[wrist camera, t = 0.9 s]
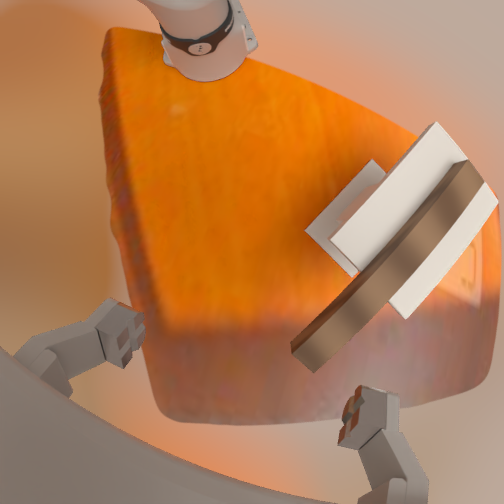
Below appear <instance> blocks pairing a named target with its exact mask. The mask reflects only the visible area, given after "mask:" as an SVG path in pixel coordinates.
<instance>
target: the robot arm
mask: <svg viewBox="0 0 504 504" xmlns="http://www.w3.org/2000/svg"><path fill="white" fill-rule="evenodd" d="M138 1H139V2H141V3H143V4H144V5H146V6H147V7H148V8H149V9H150V10H151V12H152V13H153V14H154V15H155V17H156V18H157V20H158V21H159V24H160V28H161V31H162V36H163V40H162V41H161V43H162V46H163V48H164V50H165V51H164V56H163V61H164V63H165V64H166V65H168V66H171V67H175V68H176V69H177V70H179V71H180V72H181V73H182V74H183V75H184V76H185V77H187V78H189V79H192V80H195V81H202V82H207V81H215V80H218V79H221V78H224V77H226V76H228V75H230V74H231V73H233V72H234V71H235V70H236V69H237V68H238V67H239V66H240V65H241V64H242V62H243V61H244V59H245V57H246V56H247V55H248V54H250V53H251V52H253V51H254V50H255V49H256V48H257V47H258V43H257V40H256V38H255V35H254V33H253V31H252V29H251V26H250V24H249V22H248V20H247V17H246V15H245V13H244V11H243V9H242V6H241V4H240V2H239V0H138ZM249 39H251V41H248V40H249ZM143 321H144V313H142V312H140V311H138V310H136V309H134V308H132V307H130V306H127V305H125V304H123V303H121V302H119V301H117V300H115V299H113V298H108V299H106V300H105V301H104V302H103V303H102V304H101V305H100V306H99V307H98V308H97V309H96V310H95V311H94V312H93V313H92V314H91V315H90V316H89V318H87V320H86V321H85V322H82V321H80V322H77V323H74V324H70V325H67V326H64V327H61V328H58V329H55V330H51V331H49V332H45V333H42V334H39V335H36V336H33V337H31V338H30V339H29V340H28V341H27V342H26V343H25V344H24V345H23V347H21V349H20V350H19V351H18V352H17V353H16V354H15V355H14V356H13V357H12V356H11V355H10V354H9V353H8V352H6V351H5V350H4V349H3V348H2V347H1V346H0V504H336V503H330V502H325V501H319V500H314V499H309V498H304V497H299V496H295V495H291V494H287V493H283V492H279V491H275V490H271V489H267V488H264V487H260V486H256V485H253V484H250V483H247V482H243V481H240V480H237V479H234V478H231V477H228V476H225V475H222V474H219V473H217V472H214V471H211V470H209V469H206V468H203V467H201V466H198V465H196V464H193V463H191V462H188V461H186V460H183V459H181V458H179V457H176V456H174V455H172V454H170V453H167V452H165V451H163V450H161V449H158V448H156V447H154V446H152V445H150V444H148V443H146V442H144V441H142V440H140V439H138V438H136V437H134V436H132V435H130V434H128V433H126V432H125V431H123V430H121V429H119V428H117V427H115V426H114V425H112V424H110V423H108V422H106V421H105V420H103V419H101V418H100V417H98V416H96V415H94V414H93V413H91V412H90V411H88V410H86V409H85V408H83V407H81V406H80V405H78V404H77V403H75V402H74V401H72V400H71V399H69V397H70V396H71V394H72V393H73V389H72V387H71V385H70V383H69V381H68V380H69V379H71V378H73V377H75V376H77V375H79V374H81V373H83V372H85V371H87V370H89V369H91V368H94V367H96V366H97V365H100V364H102V363H104V362H105V360H106V361H108V362H110V363H112V364H114V365H117V366H118V367H121V368H122V369H124V368H125V367H126V365H127V364H128V363H129V361H130V360H131V358H132V352H133V351H135V350H138V349H139V348H140V346H141V345H142V343H143V341H144V339H145V334H146V328H145V326H144V325H143V323H142V322H143ZM342 421H343V423H344V426H343V427H342V429H341V430H340V433H339V439H338V446H342V447H346V448H351V449H355V450H359V451H358V453H359V455H360V458H361V461H362V463H363V466H364V469H365V471H366V474H367V477H368V480H369V482H370V485H371V488H372V491H371V492H369V493H367V494H365V495H363V496H362V497H360V498H359V499H358V503H357V504H427V502H428V485H429V480H428V478H427V476H426V474H425V472H424V471H423V469H422V467H421V465H420V463H419V462H418V460H417V458H416V456H415V454H414V452H413V451H412V449H411V447H410V446H409V444H408V442H407V440H406V439H405V437H404V435H403V433H401V432H399V394H397V393H393V392H388V391H385V390H381V389H376V388H371V387H367V386H363V385H360V386H358V387H357V389H356V390H355V395H354V396H352V397H350V398H349V400H348V401H347V403H346V405H345V408H344V411H343V415H342Z"/></svg>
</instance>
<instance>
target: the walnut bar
mask: <svg viewBox="0 0 504 504" xmlns="http://www.w3.org/2000/svg"><path fill="white" fill-rule="evenodd" d="M484 182H485V181H484V180H483V178H482V177H481V176H480V174H479V173H478V171H477V170H476V169H475V167H474V166H473V165H472V163H471V162H470V161H469V160H468V159H467V160H464V161H460V162H457V163H454V164H453V165H452V167H451V168H450V169H449V170H448V172H447V173H446V174H445V176H444V177H443V178H442V179H441V181H440V182H439V183H438V184H437V186H436V187H435V188H434V189H433V191H432V192H431V193H430V194H429V196H428V197H427V198H426V199H425V200H424V202H423V203H422V204H421V205H420V206H419V208H418V209H417V210H416V211H415V212H414V214H413V215H412V216H411V217H410V218H409V219H408V221H407V222H406V223H405V224H404V225H403V226H402V228H401V229H400V230H399V231H398V232H397V233H396V234H395V236H394V237H393V238H392V239H391V240H390V241H389V242H388V243H387V244H386V246H385V247H384V248H383V249H382V250H381V251H380V252H379V253H378V254H377V256H376V257H375V258H374V259H373V260H372V261H371V262H370V263H369V264H368V265H367V266H366V267H365V268H364V270H363V271H362V272H361V273H360V274H359V275H358V276H357V277H356V278H355V279H354V280H353V281H352V282H351V283H350V284H349V285H348V286H347V287H346V288H345V289H344V290H343V291H342V292H341V293H340V295H339V296H338V297H337V298H336V299H335V300H334V301H333V302H332V303H331V304H330V305H329V306H328V307H327V308H326V309H325V310H324V311H323V312H322V313H320V314H319V315H318V316H317V317H316V318H315V319H314V320H313V321H312V322H311V323H310V324H309V325H308V326H307V327H306V328H305V329H304V330H303V331H302V332H301V333H300V334H299V335H298V336H297V337H296V338H294V339H293V340H292V341H291V342H290V344H291V352H292V355H293V356H294V357H296V358H297V359H298V360H299V361H300V362H301V363H302V364H304V365H305V366H306V367H307V368H308V369H309V370H311V371H312V372H313V373H314V372H316V371H317V370H318V369H319V368H320V367H321V366H322V365H323V364H325V363H326V362H327V361H328V360H329V359H330V358H331V357H332V356H333V355H334V354H335V353H337V352H338V351H339V350H340V349H341V348H342V347H343V346H344V345H345V344H346V343H347V342H348V341H349V340H350V339H351V338H352V337H353V336H354V335H355V334H356V333H358V332H359V331H360V330H361V329H362V328H363V327H364V326H365V325H366V324H367V323H368V322H369V321H370V320H371V319H372V318H373V316H374V315H375V314H376V313H377V312H378V311H379V310H380V309H381V308H382V307H383V306H384V305H385V304H386V303H387V302H388V301H389V300H390V299H391V298H392V297H393V295H394V294H395V293H396V292H397V291H398V290H399V289H400V288H401V287H402V286H403V285H404V283H405V282H406V281H407V280H408V279H409V278H410V277H411V276H412V274H413V273H414V272H415V271H416V270H417V269H418V268H419V266H420V265H421V264H422V263H423V262H424V261H425V259H426V258H427V257H428V256H429V255H430V253H431V252H432V251H433V250H434V249H435V247H436V246H437V245H438V244H439V242H440V241H441V240H442V239H443V237H444V236H445V235H446V234H447V232H448V231H449V230H450V229H451V227H452V226H453V225H454V223H455V222H456V221H457V220H458V218H459V217H460V216H461V214H462V213H463V212H464V210H465V209H466V207H467V206H468V205H469V203H470V202H471V201H472V199H473V198H474V196H475V195H476V194H477V192H478V191H479V189H480V188H481V186H482V185H483V184H484Z"/></svg>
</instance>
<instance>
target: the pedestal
mask: <svg viewBox="0 0 504 504" xmlns="http://www.w3.org/2000/svg"><path fill="white" fill-rule="evenodd" d="M467 159H468V158H467V157H466V156H465V154H464V153H463V152H462V150H461V149H460V148H459V147H458V146H457V144H456V143H455V142H454V141H453V140H452V138H451V137H450V136H449V135H448V134H447V132H446V131H445V130H444V129H443V128H442V127H441V126H440V124H439V123H438V122H437V121H436V122H434V123H432V124H431V125H429V126H428V127H427V128H426V129H425V131H424V132H423V133H422V134H421V135H420V136H419V138H418V139H417V140H416V141H415V142H414V143H413V144H412V146H411V147H410V148H409V149H408V150H407V151H406V153H405V154H404V155H403V156H402V157H401V158H400V159H399V160H398V162H397V163H396V164H395V165H394V166H393V167H392V168H391V169H390V171H389V172H388V173H387V174H386V173H385V172H384V171H383V169H382V168H381V167H380V166H379V165H378V164H377V163H376V162H375V161H374V160H373V159H371V160H370V161H369V162H368V163H367V164H366V165H365V166H364V168H363V169H362V170H361V171H360V172H359V173H358V174H357V175H356V176H355V177H354V178H353V179H352V180H351V181H350V183H349V184H348V185H347V186H346V187H345V188H344V189H343V190H342V191H341V192H340V193H339V194H338V195H337V196H336V197H335V199H334V200H333V201H332V202H331V203H330V204H329V205H328V206H327V207H326V208H325V209H324V210H323V211H322V212H321V213H320V214H319V215H318V216H317V217H316V219H315V220H314V221H313V222H312V223H311V224H310V225H309V226H308V227H307V228H306V229H305V230H304V231H305V232H307V233H308V234H309V235H310V236H311V237H312V238H313V239H314V240H315V241H316V242H317V243H318V244H319V245H320V246H321V247H322V248H323V249H324V250H325V251H326V252H327V253H328V254H329V255H330V256H331V257H332V258H333V259H334V260H335V261H336V262H337V263H338V264H339V265H340V266H341V267H342V268H343V269H344V270H345V271H346V272H347V273H348V274H349V276H350V277H353V276H354V275H355V274H356V273H357V272H358V271H359V272H360V273H361V272H362V271H363V270H364V268H365V267H366V266H367V265H368V264H369V263H370V262H371V261H372V260H373V259H374V258H375V257H376V256H377V254H378V253H379V252H380V251H381V250H382V249H383V248H384V247H385V246H386V244H387V243H388V242H389V241H390V240H391V239H392V238H393V237H394V236H395V234H396V233H397V232H398V231H399V230H400V229H401V228H402V226H403V225H404V224H405V223H406V222H407V221H408V219H409V218H410V217H411V216H412V215H413V214H414V212H415V211H416V210H417V209H418V208H419V206H420V205H421V204H422V203H423V202H424V200H425V199H426V198H427V197H428V196H429V194H430V193H431V192H432V191H433V189H434V188H435V187H436V186H437V184H438V183H439V182H440V181H441V179H442V178H443V177H444V176H445V174H446V173H447V172H448V170H449V169H450V168H451V167H452V165H453V164H454V163H457V162H460V161H464V160H467ZM468 160H469V159H468ZM480 176H481V175H480ZM498 202H499V201H498V200H497V198H496V197H495V195H494V194H493V192H492V191H491V189H490V188H489V187H488V185H487V184H486V182H484V184H483V185H482V186H481V188H480V189H479V191H478V192H477V194H476V195H475V196H474V198H473V199H472V201H471V202H470V203H469V205H468V206H467V207H466V209H465V210H464V212H463V213H462V214H461V216H460V217H459V218H458V220H457V221H456V222H455V223H454V225H453V226H452V227H451V229H450V230H449V231H448V232H447V234H446V235H445V236H444V237H443V239H442V240H441V241H440V242H439V244H438V245H437V246H436V247H435V249H434V250H433V251H432V252H431V253H430V255H429V256H428V257H427V258H426V259H425V261H424V262H423V263H422V264H421V265H420V266H419V268H418V269H417V270H416V271H415V272H414V273H413V274H412V276H411V277H410V278H409V279H408V280H407V281H406V282H405V283H404V285H403V286H402V287H401V288H400V289H399V290H398V291H397V292H396V293H395V294H394V295H393V297H392V298H391V299H390V300H389V301H388V303H389V304H390V305H391V306H392V307H393V308H394V309H395V310H396V311H397V313H398V314H399V315H401V316H402V317H403V318H404V319H407V318H408V317H409V316H410V315H411V313H412V312H413V311H414V310H415V309H416V308H417V307H418V306H419V305H420V304H421V302H422V301H423V300H424V299H425V298H426V297H427V296H428V294H429V293H430V292H431V291H432V290H433V289H434V288H435V286H436V285H437V284H438V283H439V282H440V280H441V279H442V278H443V277H444V276H445V274H446V273H447V272H448V271H449V269H450V268H451V267H452V266H453V264H454V263H455V262H456V261H457V259H458V258H459V257H460V256H461V254H462V253H463V252H464V250H465V249H466V248H467V246H468V245H469V244H470V242H471V241H472V240H473V238H474V237H475V236H476V234H477V233H478V231H479V230H480V229H481V227H482V226H483V224H484V223H485V221H486V220H487V219H488V217H489V216H490V214H491V213H492V211H493V210H494V208H495V207H496V205H497V204H498Z"/></svg>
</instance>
